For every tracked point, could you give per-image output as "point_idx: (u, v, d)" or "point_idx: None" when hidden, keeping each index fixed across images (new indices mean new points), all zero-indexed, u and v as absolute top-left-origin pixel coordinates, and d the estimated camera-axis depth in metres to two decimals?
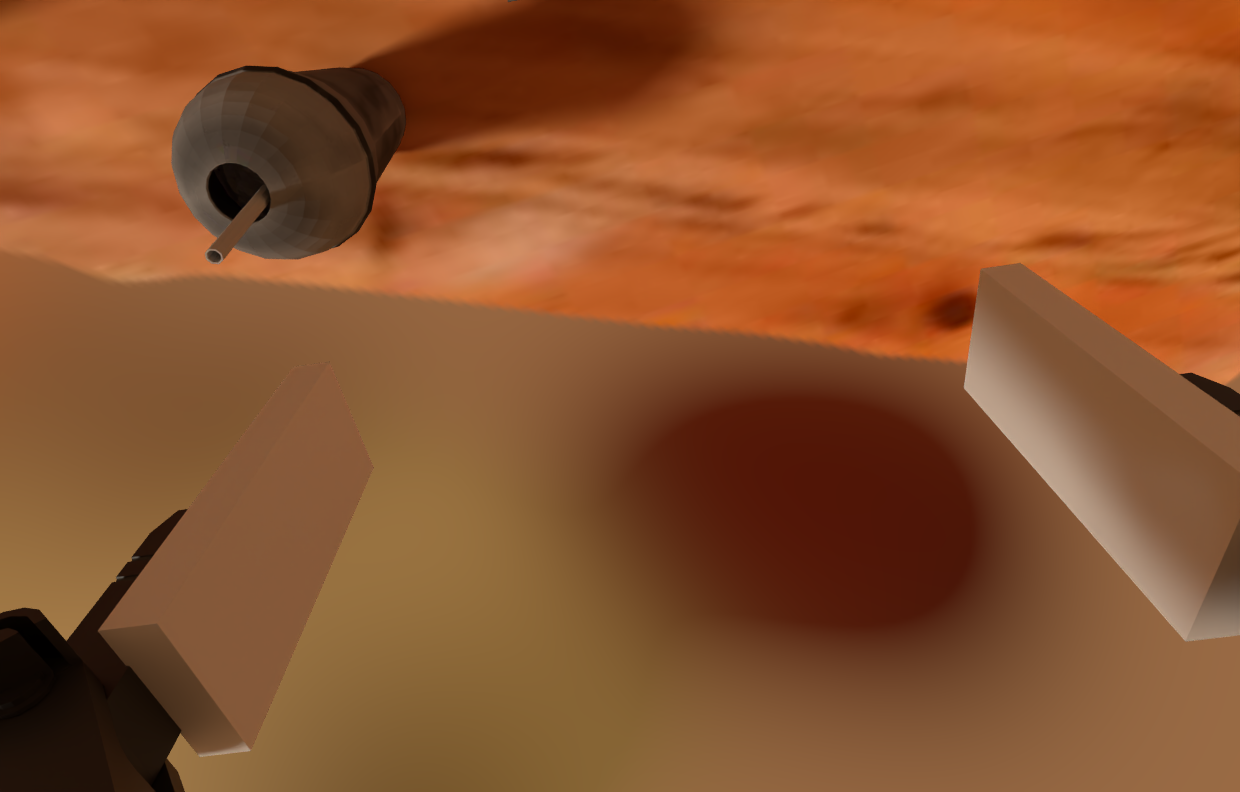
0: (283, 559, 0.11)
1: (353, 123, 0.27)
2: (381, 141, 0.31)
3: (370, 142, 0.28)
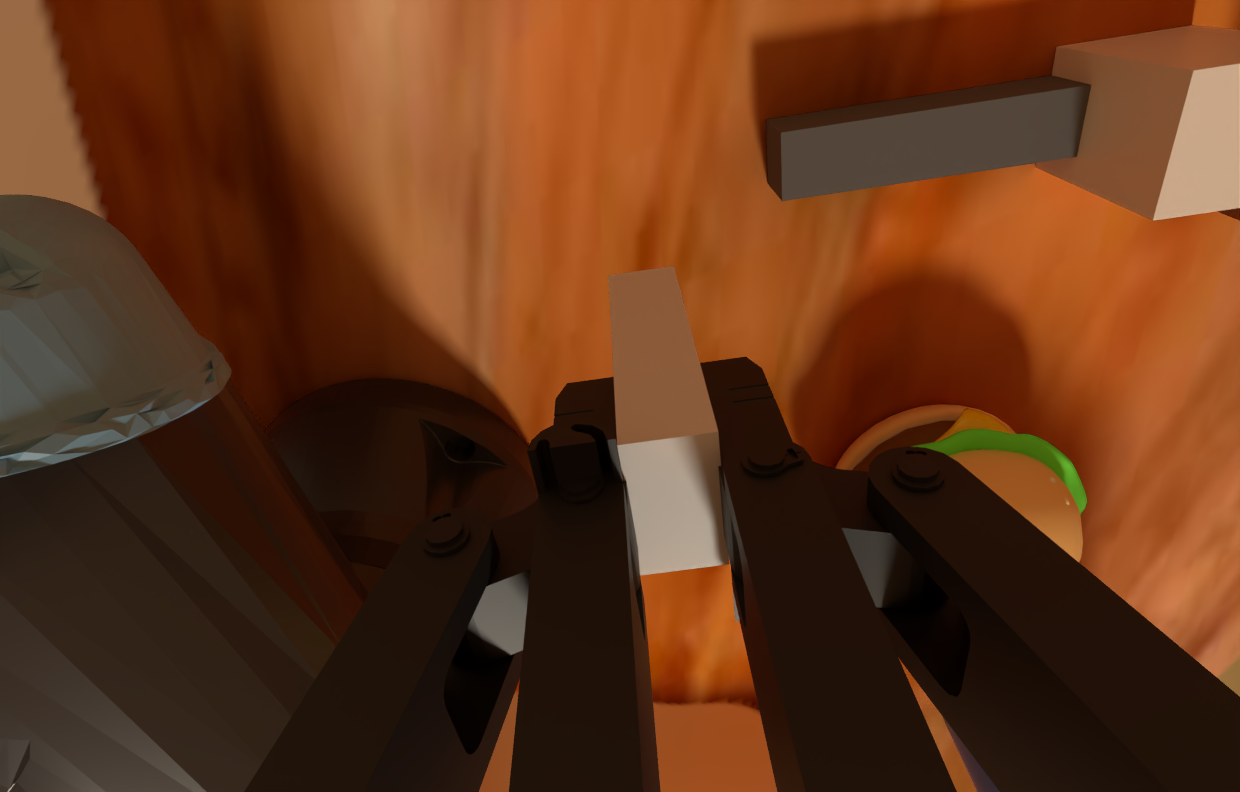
0: None
1: None
2: None
3: None
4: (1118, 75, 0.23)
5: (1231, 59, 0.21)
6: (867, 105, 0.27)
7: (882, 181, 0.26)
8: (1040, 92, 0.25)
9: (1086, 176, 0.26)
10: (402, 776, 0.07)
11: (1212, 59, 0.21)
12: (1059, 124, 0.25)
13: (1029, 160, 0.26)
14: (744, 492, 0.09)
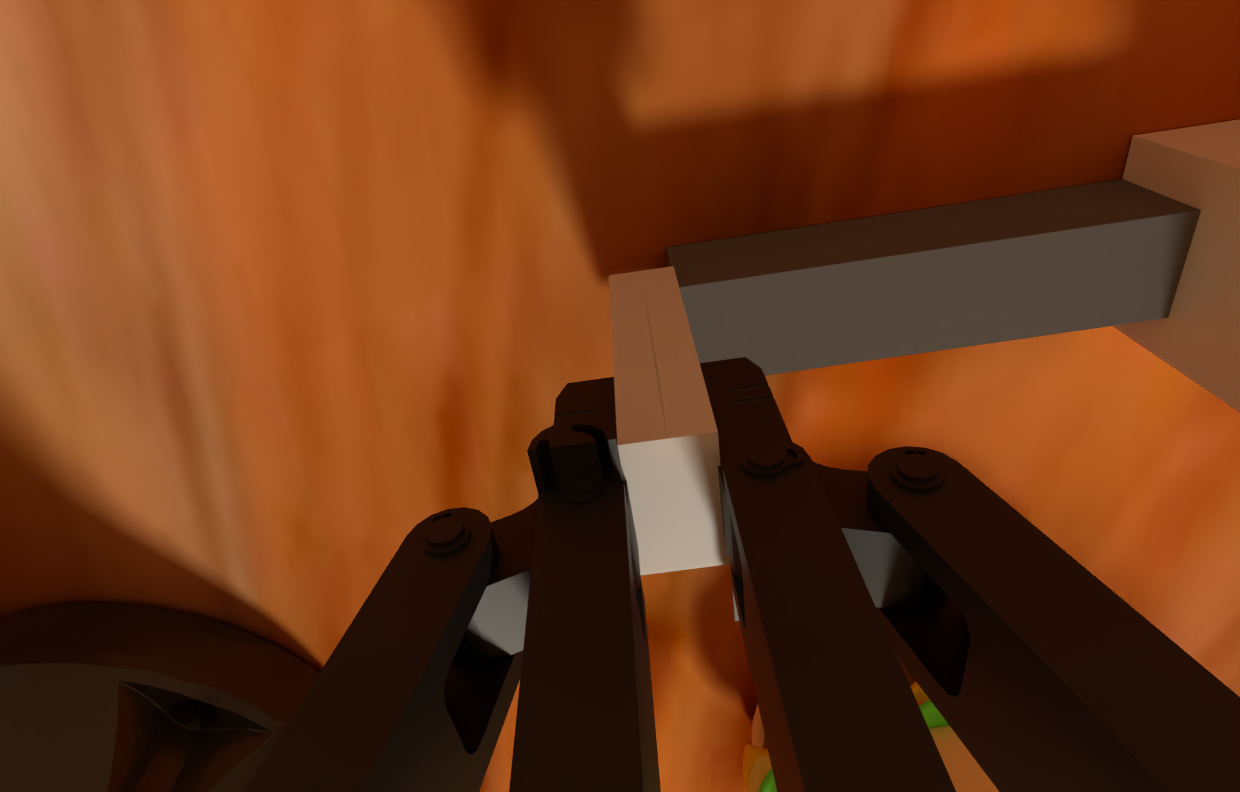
0: None
1: None
2: None
3: None
4: None
5: None
6: (827, 227, 0.17)
7: (850, 356, 0.16)
8: (1114, 222, 0.15)
9: (1186, 354, 0.15)
10: (402, 776, 0.07)
11: None
12: (1143, 270, 0.15)
13: (1090, 323, 0.16)
14: (744, 492, 0.09)
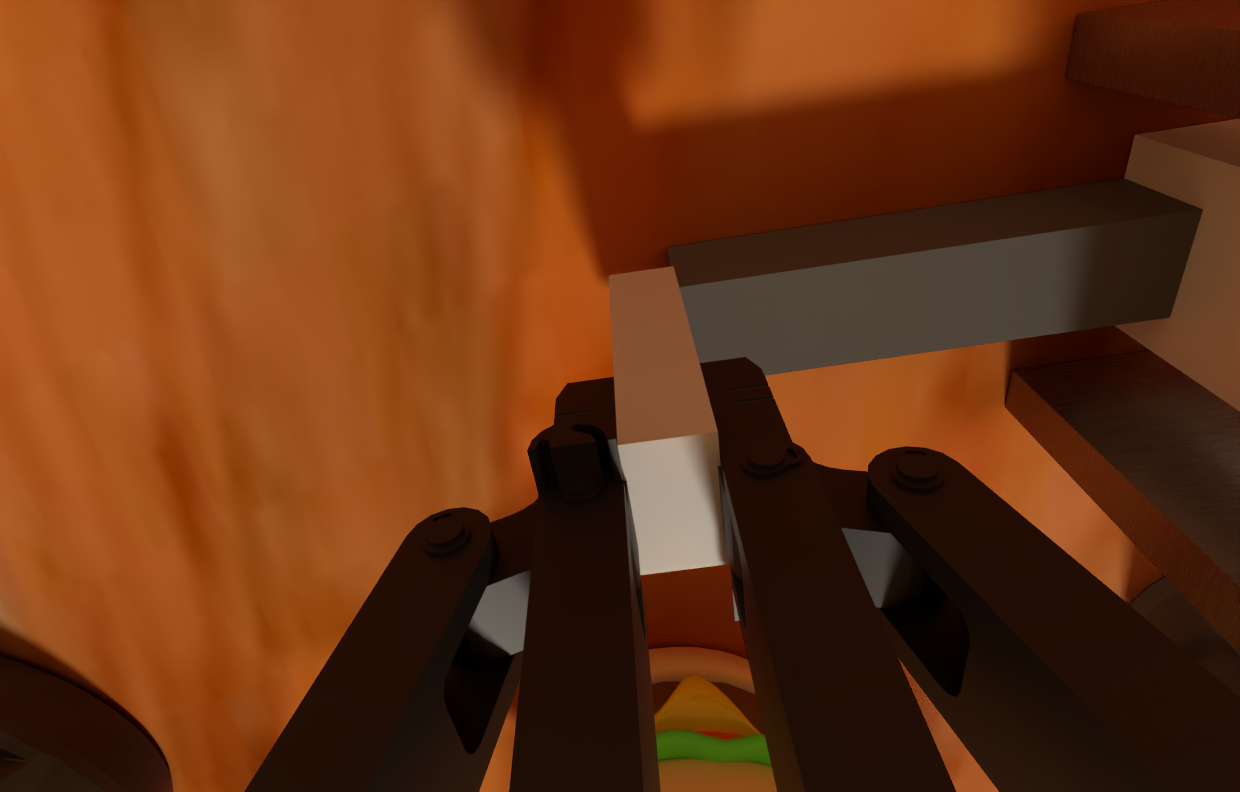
0: None
1: None
2: None
3: None
4: None
5: None
6: (827, 227, 0.17)
7: (851, 356, 0.16)
8: (1115, 221, 0.15)
9: (1188, 354, 0.15)
10: (402, 776, 0.07)
11: None
12: (1144, 270, 0.15)
13: (1092, 323, 0.16)
14: (744, 492, 0.09)
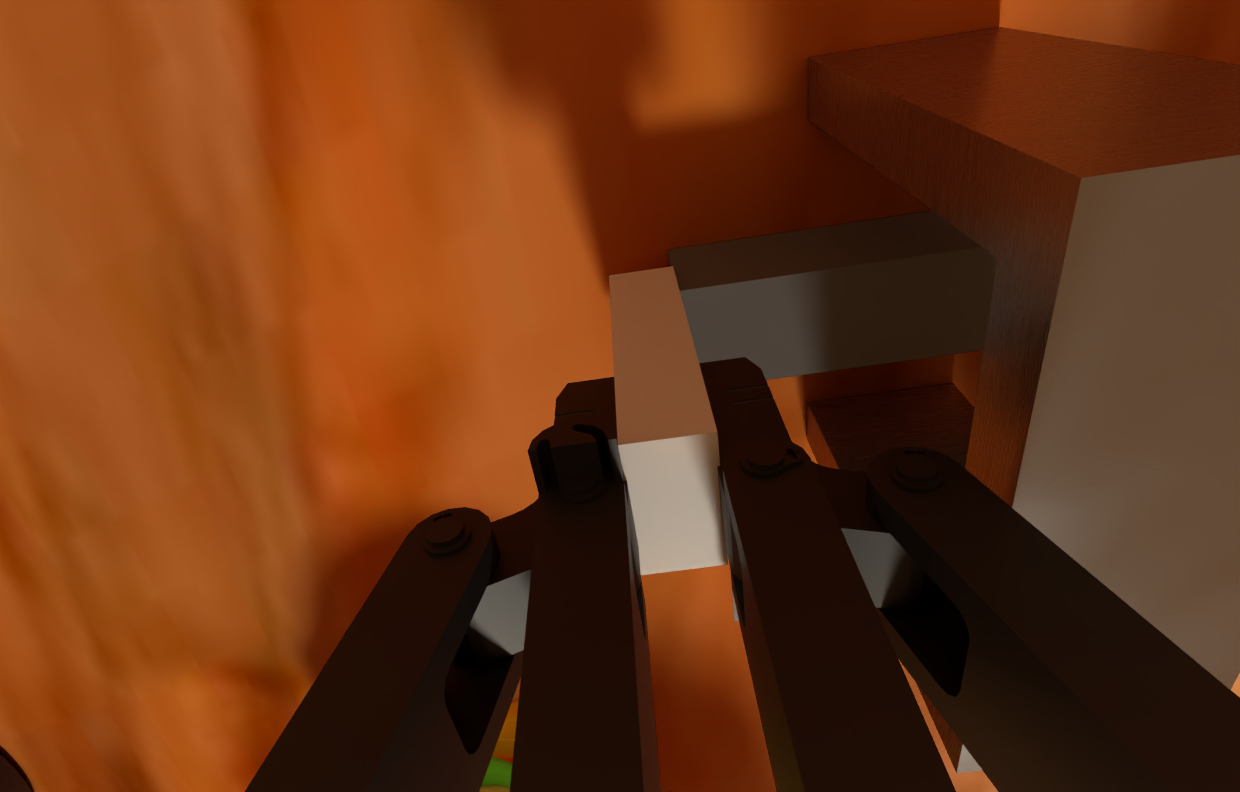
0: None
1: None
2: None
3: None
4: None
5: None
6: (830, 230, 0.16)
7: (853, 361, 0.16)
8: None
9: None
10: (403, 775, 0.07)
11: None
12: None
13: None
14: (743, 492, 0.09)
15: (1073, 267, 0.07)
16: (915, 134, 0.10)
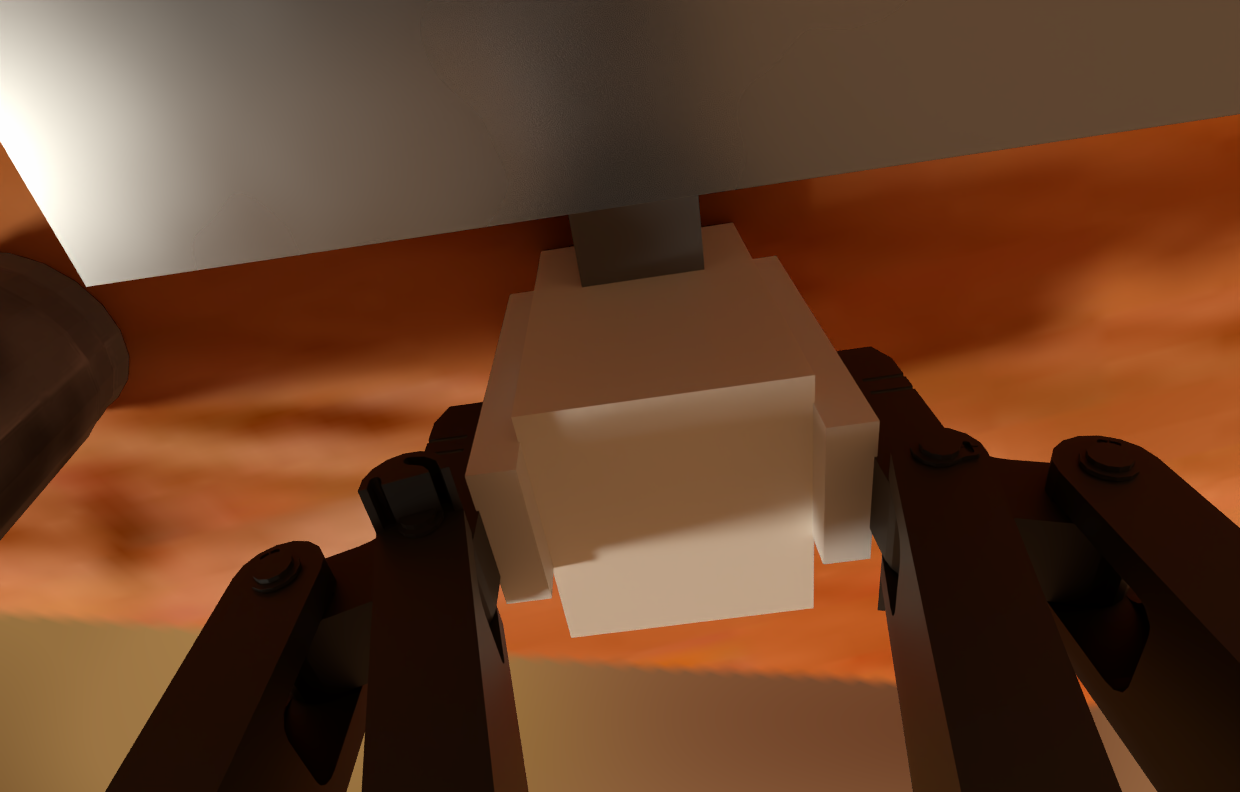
0: None
1: None
2: None
3: None
4: (738, 291, 0.13)
5: None
6: None
7: None
8: None
9: (554, 307, 0.13)
10: None
11: None
12: (639, 236, 0.14)
13: None
14: (911, 478, 0.09)
15: None
16: None
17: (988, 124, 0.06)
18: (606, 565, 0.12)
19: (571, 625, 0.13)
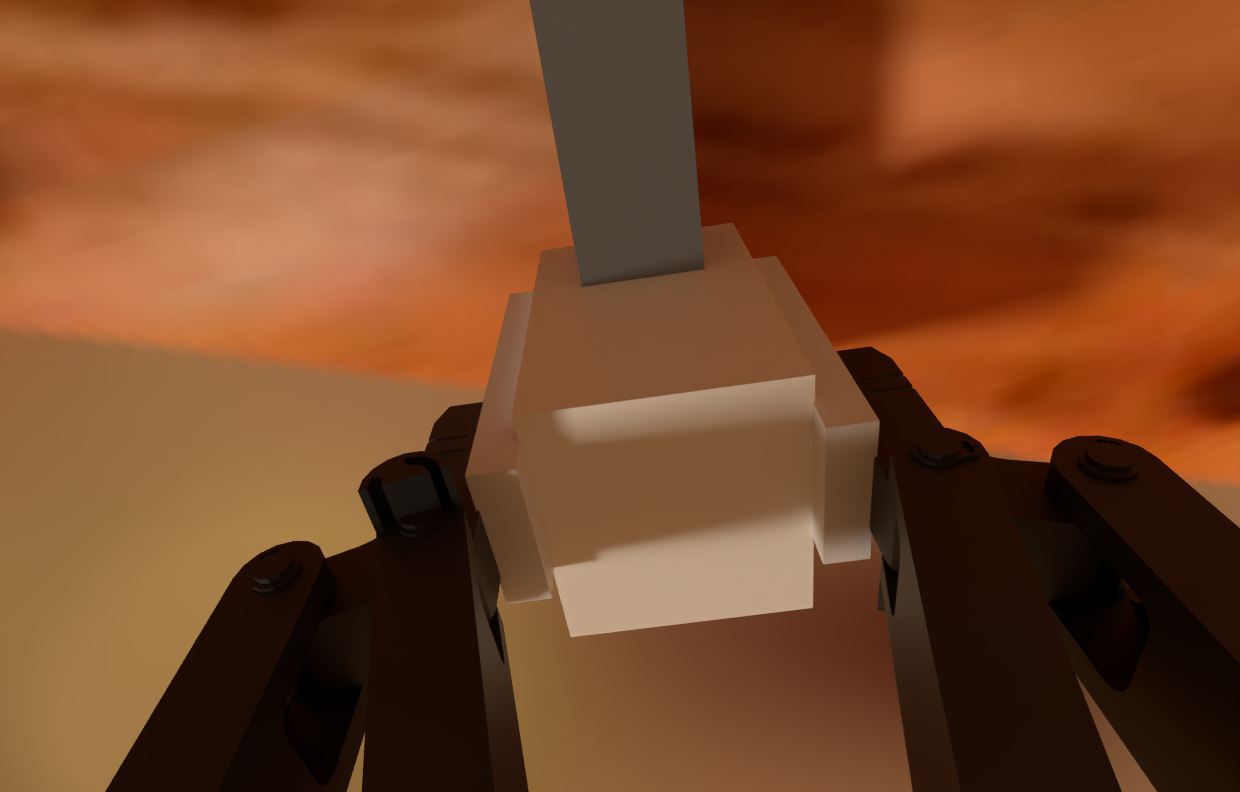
0: None
1: None
2: None
3: None
4: (738, 291, 0.13)
5: None
6: None
7: None
8: (697, 180, 0.13)
9: (554, 306, 0.13)
10: None
11: None
12: (639, 235, 0.14)
13: (572, 200, 0.13)
14: (911, 478, 0.09)
15: None
16: None
17: None
18: (606, 564, 0.12)
19: (571, 624, 0.13)
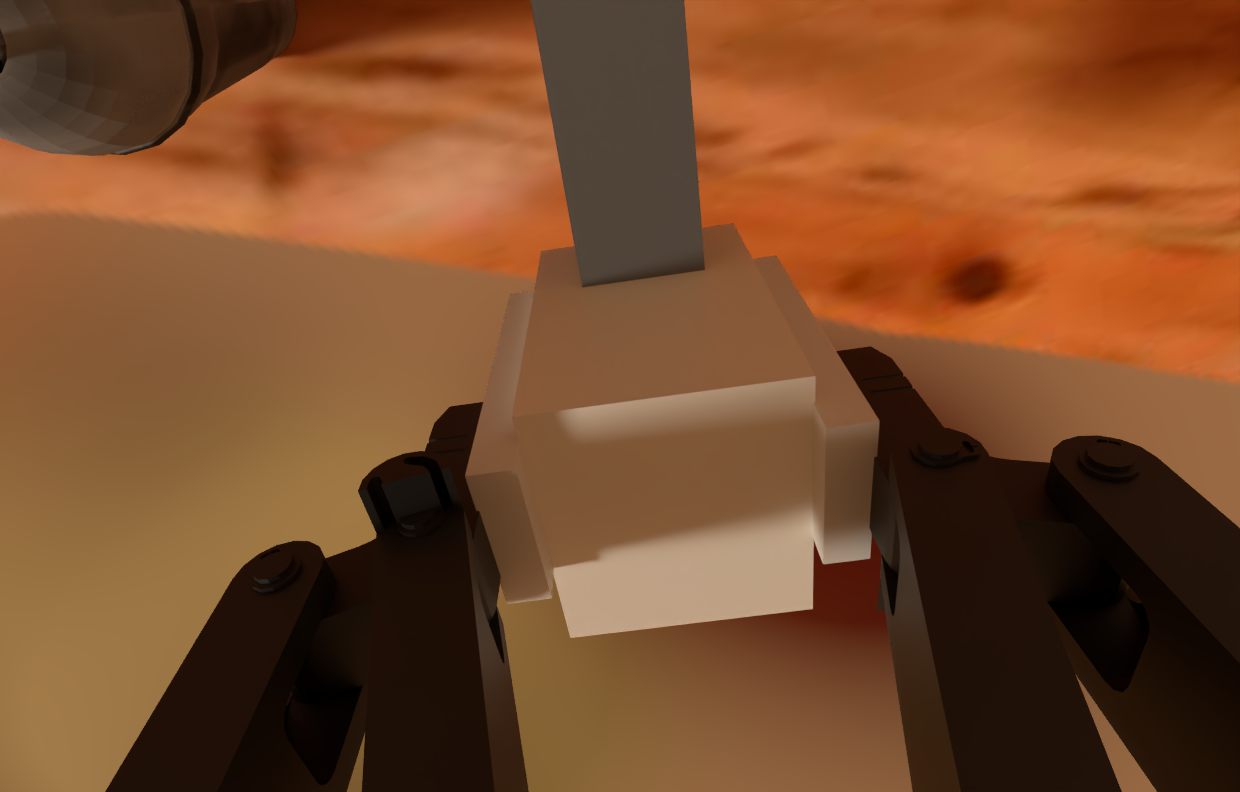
0: None
1: None
2: (232, 11, 0.23)
3: None
4: (738, 292, 0.13)
5: None
6: None
7: None
8: None
9: (554, 307, 0.13)
10: None
11: None
12: (639, 236, 0.14)
13: (573, 200, 0.13)
14: (911, 478, 0.09)
15: None
16: None
17: None
18: (606, 565, 0.12)
19: (570, 625, 0.13)
